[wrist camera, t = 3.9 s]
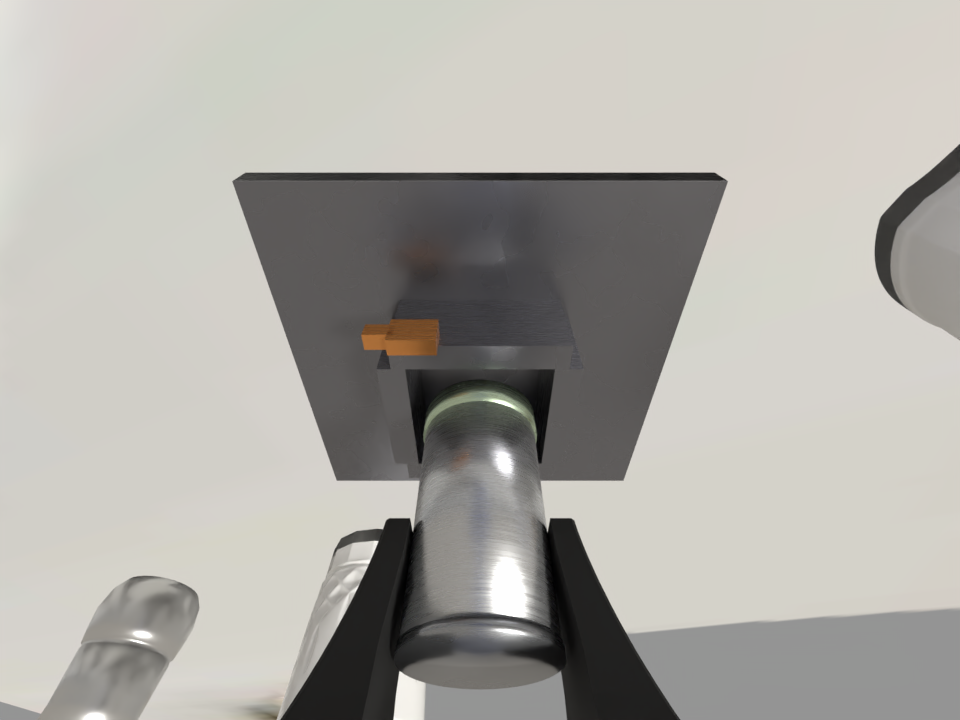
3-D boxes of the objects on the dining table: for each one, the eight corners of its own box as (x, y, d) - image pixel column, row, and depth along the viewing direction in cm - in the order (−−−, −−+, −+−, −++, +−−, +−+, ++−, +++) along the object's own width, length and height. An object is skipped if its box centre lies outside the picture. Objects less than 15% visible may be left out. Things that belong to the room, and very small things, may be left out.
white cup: (353, 581, 34) (314, 750, 26) (308, 529, 29) (244, 718, 21) (449, 571, 33) (439, 745, 25) (420, 516, 28) (396, 709, 20)
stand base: (245, 172, 14) (170, 220, 11) (714, 172, 14) (790, 220, 11) (341, 466, 24) (318, 540, 21) (618, 466, 24) (642, 540, 21)
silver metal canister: (422, 377, 15) (380, 630, 9) (538, 377, 15) (579, 630, 9) (430, 452, 18) (403, 689, 11) (529, 452, 18) (557, 689, 11)
